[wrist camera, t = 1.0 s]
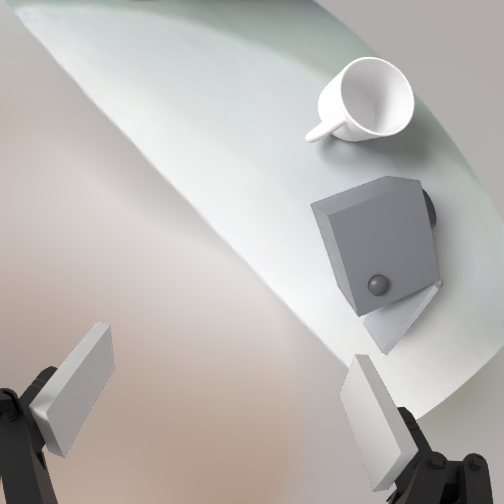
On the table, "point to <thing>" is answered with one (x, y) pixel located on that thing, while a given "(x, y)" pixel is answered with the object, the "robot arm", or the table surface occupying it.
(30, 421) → the robot arm
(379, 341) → the side door
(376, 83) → the cup
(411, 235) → the camera body
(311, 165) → the table surface
